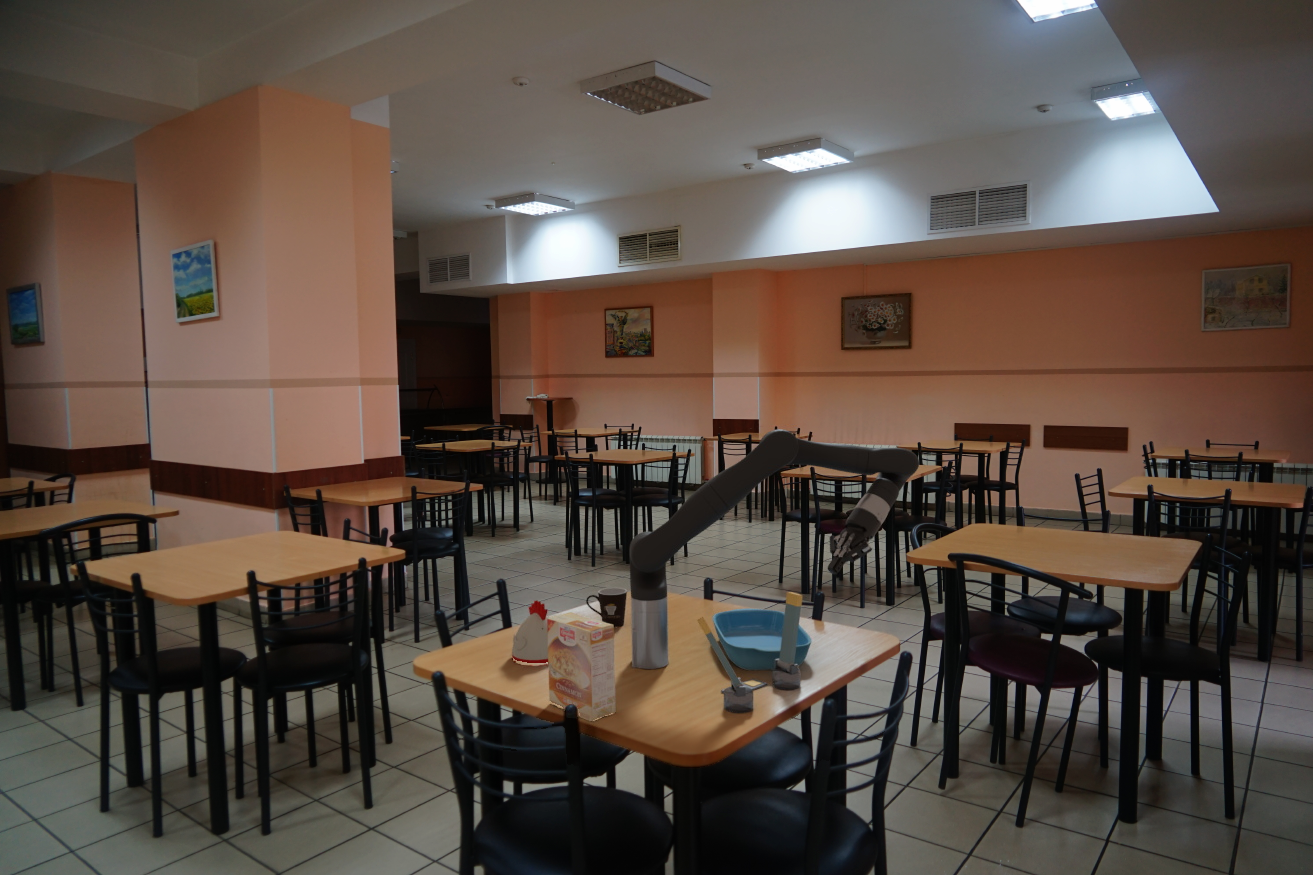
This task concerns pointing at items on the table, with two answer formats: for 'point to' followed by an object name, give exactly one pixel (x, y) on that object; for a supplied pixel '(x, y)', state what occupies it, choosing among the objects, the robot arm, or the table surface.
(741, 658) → the casserole dish
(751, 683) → the chart card
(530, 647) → the kitchen timer
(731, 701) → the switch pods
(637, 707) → the table surface
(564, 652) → the coffeecake box
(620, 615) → the coffee mug
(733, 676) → the near lever
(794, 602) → the far lever
